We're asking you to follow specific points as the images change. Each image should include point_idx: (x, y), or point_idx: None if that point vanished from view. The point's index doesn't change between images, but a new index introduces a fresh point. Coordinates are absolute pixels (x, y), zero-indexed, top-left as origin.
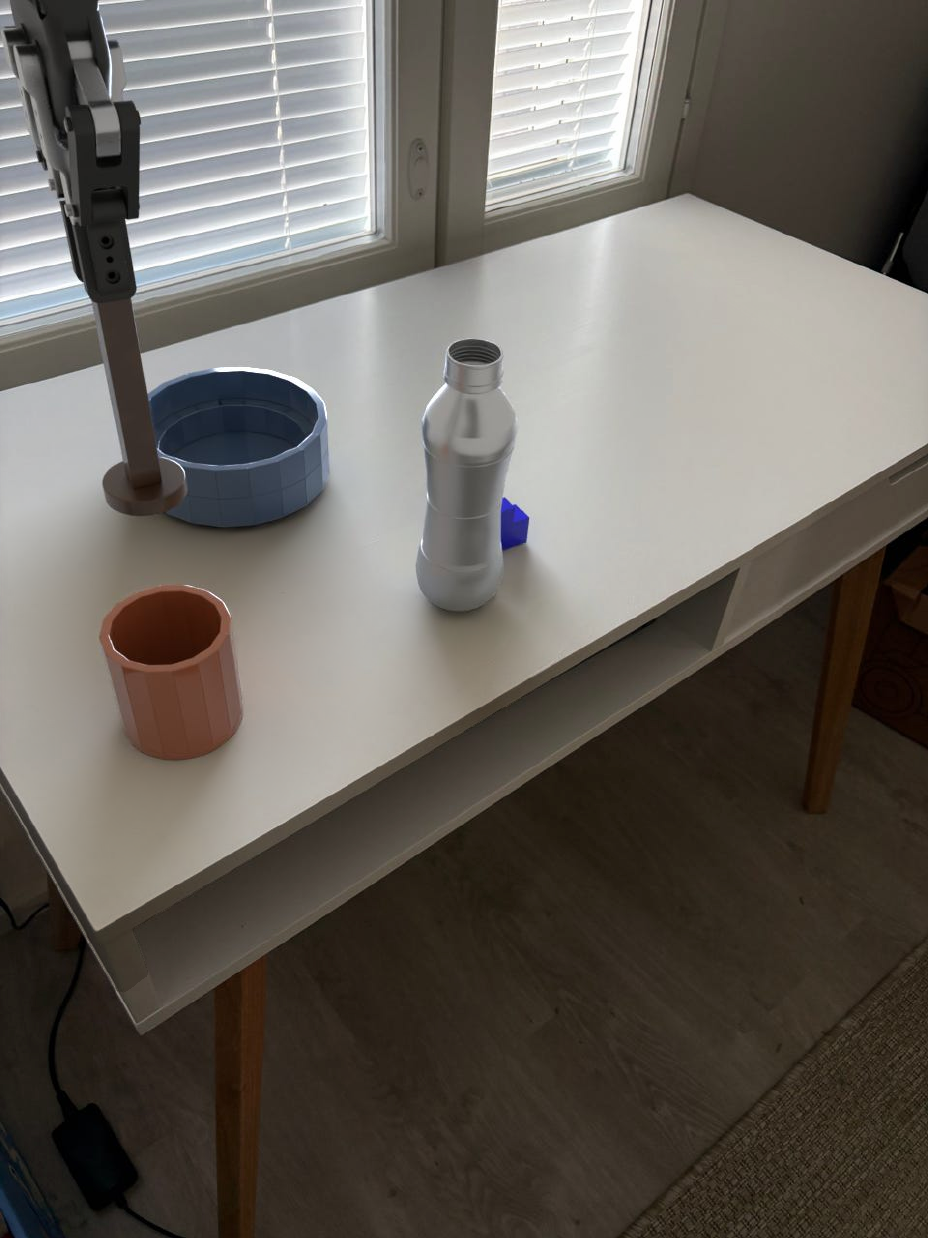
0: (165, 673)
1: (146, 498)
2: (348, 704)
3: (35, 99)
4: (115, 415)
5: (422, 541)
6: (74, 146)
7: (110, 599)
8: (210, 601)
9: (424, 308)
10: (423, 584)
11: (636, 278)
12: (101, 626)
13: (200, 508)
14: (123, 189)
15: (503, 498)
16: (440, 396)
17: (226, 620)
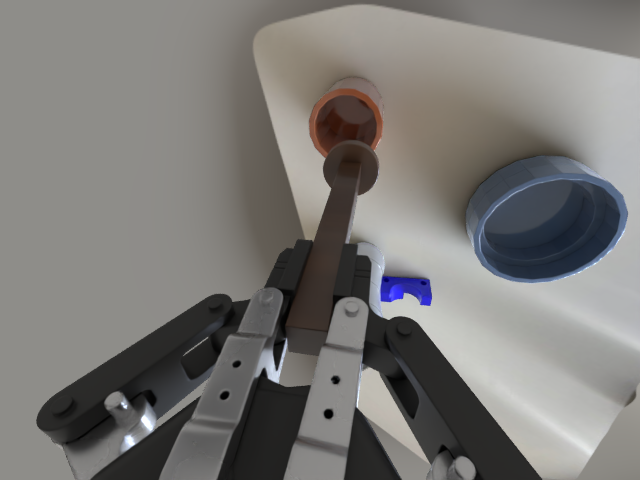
0: (310, 116)
1: (326, 165)
2: (323, 183)
3: (192, 416)
4: (348, 184)
5: (374, 260)
6: (91, 378)
7: (466, 100)
8: None
9: (600, 361)
10: (361, 246)
11: (528, 428)
12: (362, 93)
13: (494, 180)
14: (206, 354)
15: (388, 301)
16: None
17: None
